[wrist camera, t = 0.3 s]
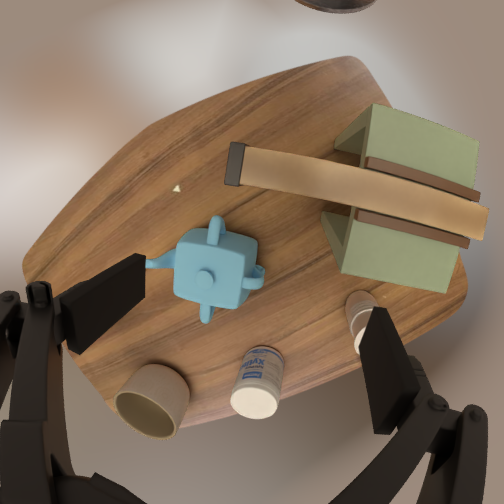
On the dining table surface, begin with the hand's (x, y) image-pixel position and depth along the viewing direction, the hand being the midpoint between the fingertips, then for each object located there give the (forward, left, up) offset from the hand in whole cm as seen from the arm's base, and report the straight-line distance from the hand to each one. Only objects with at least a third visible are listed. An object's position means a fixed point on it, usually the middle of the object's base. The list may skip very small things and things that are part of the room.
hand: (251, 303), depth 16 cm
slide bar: (-7, +7, -12) cm, 15 cm away
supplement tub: (+35, +2, -42) cm, 55 cm away
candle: (+16, +19, -42) cm, 48 cm away
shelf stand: (-7, +13, -42) cm, 44 cm away
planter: (+50, -22, -42) cm, 69 cm away
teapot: (+12, -12, -42) cm, 45 cm away
